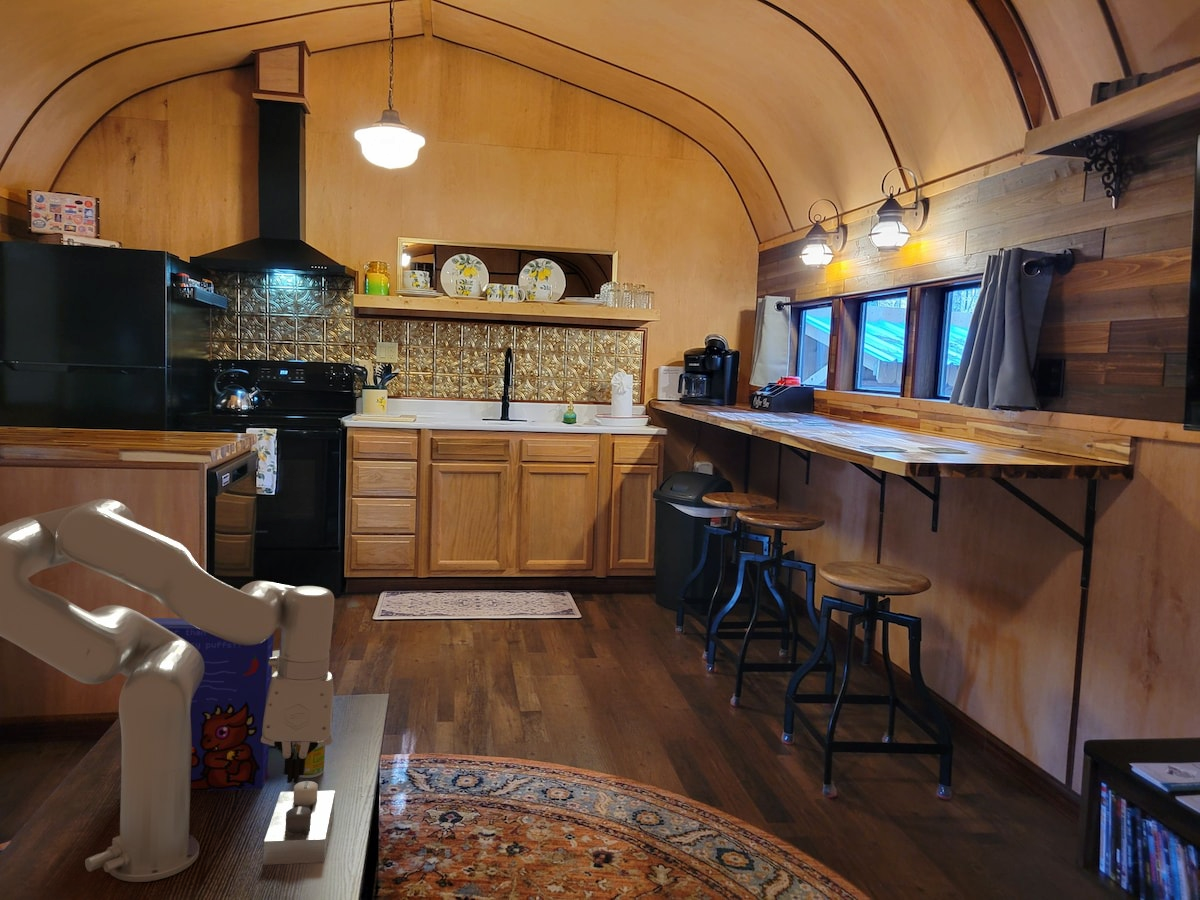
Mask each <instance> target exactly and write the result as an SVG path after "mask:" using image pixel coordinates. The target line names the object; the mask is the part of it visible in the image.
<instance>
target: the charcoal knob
mask: <svg viewBox="0 0 1200 900" xmlns="http://www.w3.org/2000/svg"><path fill="white" fill-rule="evenodd" d="M310 827H311V810H310V809H309V808H306V807H295V808H292V809H290V810H288V811H287V812H286V826H285V829H286V831H287V832H289V833H292V836H304V833H305V832H307V830H309V829H310Z"/></svg>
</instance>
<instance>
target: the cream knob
mask: <svg viewBox="0 0 1200 900" xmlns="http://www.w3.org/2000/svg"><path fill="white" fill-rule="evenodd" d="M318 786H319V785H318V783H316V782H315V781H309V780H305V781H300V782H298V783H295V785H294V786H293V792H294V800H293V802H294V803H295V804H297V805H300V807H306V808H309V809H310V804H313V803H315V802H316V801H317V791H319V790H318V788H319V787H318Z"/></svg>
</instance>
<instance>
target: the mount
mask: <svg viewBox="0 0 1200 900" xmlns="http://www.w3.org/2000/svg"><path fill="white" fill-rule="evenodd" d="M335 794H336V790H317V801H316V802H315V803H313V804H310V810H311V827H310V829H309V830H307V831H306V834H305V835H303V836H292V833H289V832H287V831H286V829H285V826H286V812H287V811H288V810H290V809H292V808H295V807H300V805H297V804H295V803H294V802H293V800H294V791H280V793H279V796H278V799H277V802H276V805H275V808H274V811H273V814H272V817H271V820H270V823H269V825H268V829H267V832H266V835H265V838H264V840H263V841H264V843H263V861H262V862H263V863H262V864H263V866H266V865H268V866H269V865H287V864H289V865H290V864H291V865H292V864H314V863H324V862H325V858H326V853H327V848H328V842H329V837H330V833H331V828H332V822H333V818H334V813H335V799H336V797H335V796H336V795H335Z"/></svg>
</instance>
